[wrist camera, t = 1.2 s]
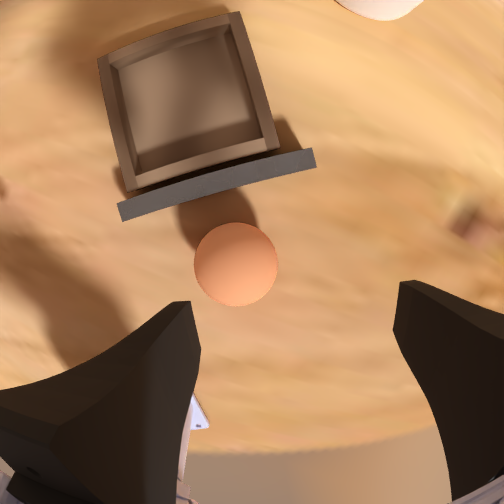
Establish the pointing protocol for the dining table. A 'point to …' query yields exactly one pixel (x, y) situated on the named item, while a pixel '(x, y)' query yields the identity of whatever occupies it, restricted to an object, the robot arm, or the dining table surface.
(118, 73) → the tray
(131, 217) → the rail
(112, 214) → the dining table surface
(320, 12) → the dining table surface
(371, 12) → the pill bottle
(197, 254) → the ball
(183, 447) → the robot arm
